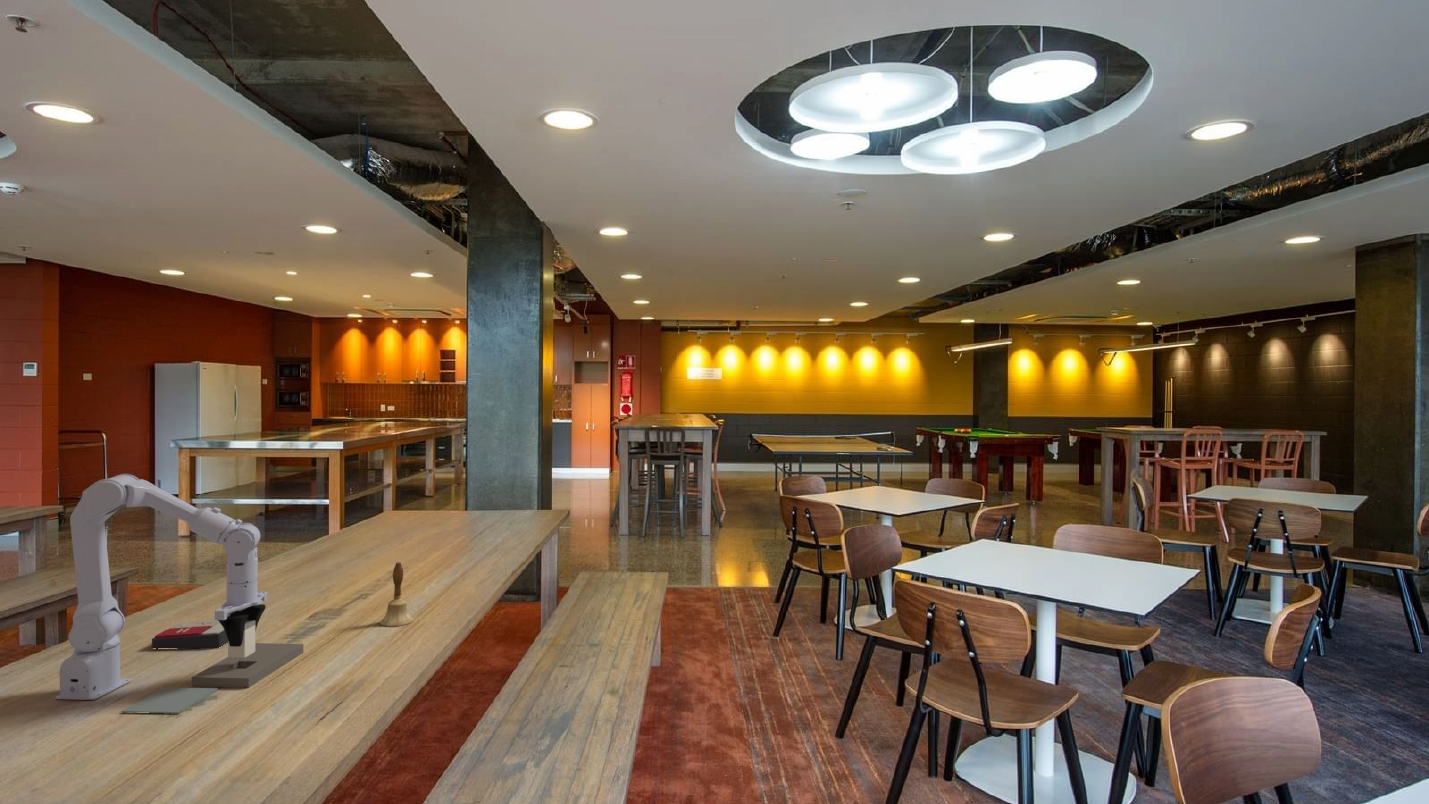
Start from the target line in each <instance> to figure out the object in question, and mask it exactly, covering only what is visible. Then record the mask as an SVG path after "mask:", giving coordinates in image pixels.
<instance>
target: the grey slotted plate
mask: <svg viewBox="0 0 1429 804" xmlns="http://www.w3.org/2000/svg"><path fill="white" fill-rule="evenodd" d="M303 653H304V643H267V642H266V643H264V642H263V643H261V642H260V643H259V642H258V643H257V642H255V652H254V653H252V654H250V655H249V656H247V657H245V658H231V657H228V656H227V657H225V658H222V660H220V661H218V662H217V663H214V664H212V665H211V666H209V667H207V668H206V669H204V670H202V671H200V672H198V673H196V674H195V675H192V676H191V687H192V686H197V687H196V688H236V687H246V688H247V689H248V688H250V686H251V687H253V686H254V685H256V684H257V683H258V682H259V680H260V681H261V679H262V678H263V679H264V677H265V678H266V677H268V676H269V675H271V674H272V673H274V672H276V671H277V670H279V669H280V668H282V667H283V666H285V665H286V664H288V663H289V662H290V661H292V660H294V659H296V658H298V657H299V656H300V655H301V654H303ZM276 669H277V670H276ZM263 679H262V680H263ZM246 688H245V689H246Z"/></svg>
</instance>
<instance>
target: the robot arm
mask: <svg viewBox="0 0 1429 804" xmlns="http://www.w3.org/2000/svg"><path fill="white" fill-rule="evenodd" d="M125 506H126V508H138V507H139V508H140V507H149V508H152V509H154V510H156V511H159V512H161V513H164V514H166V515H168V516H171V517H173V518H176V519H178V520H181V521H183V522H185V523H187V524H188V527H189V531H190V532H192V533H195V534H197V535H198V536H201V537H203V538H205V539H207V540H208V541H212V542H214V543H216V544H217V545H222V547H223V549H224V551H225V553H226V555H227V556H226V557H227V559H226V560H227V561H226V597H225V598H226V601H225V602H224V603H223V604H222V605H221V606H220V607H219V608H217V609H216V610H214V620H218V621H219V622H220V624H221V625H222V626H223V628H224V630H225V632H226V635H227V638H228V641H229V645H230V646H233V647H239V646H241V644H242V640H243V631H244V626H245V623H246V620H255V633H256V631H257V627H258V625H259V622H260V619H261V617H262V615H263V613H264V612H265V610H266V604H264V603H263V602H265V601H267V600H268V591H265V590H264V591H258V588H259V587H258V585H259V584H258V582H259V581H258V580H259V579H258V578H259V576H258V575H259V574H258V573H259V571H258V570H259V558H258V546H257V545H258V544H259V542H260V540H261V532H260V529H259V528H258V527H257V526H255V525H254V524H253V523H250V522H243V520H242V519H239V518H238V519H234V518H232V517H230V516H228V515H226V514H224V513H222V512H221V510H222V509H220V508H218V507H213V508H212V507H208V506H207V507H203V508H197V507H195V506H194V505H192V504H190V503H188V502H186V501H184V500H183V499H180V498H179V497H177V496H176V495H173V494H171V493H169V492H167V491H165V490H163V489H162V488H160V487H158V486H156V485H155V484H153V483H151V482H150V481H148V480H145V479H141V478H140V479H139V478H138V477H136V476H135V475H133V474H131V473H130V474H129V473H121V474H116V475H115V476H112V477H110V478H104V479H100V480H98V481H96V482H94V483H93V484H91V485H90V486H89V487H87V488H85V489H84V490H83V491H82V495H81V498H80V500H79V502H78V503H77V505H76V507H75V508H74V509H73V512H72V513H71V515H70V519H69V522H70V533H71V543H72V544H71V545H72V553H73V563H74V574H75V583H76V591H77V601H78V603H77V607H76V609H75V611H74V613H73V616H72V627H71V629H70V631H69V634H68V642H69V644H70V645H71V647H73V648H74V650H73V652H72V653H71V655H70V656H69V657H67V658H66V659H64V660H63V661H62V663H61V665H60V666H59V667H60V668H59V695H56V696H55V699H56V700H77V701H78V700H80V701H81V700H84V701H85V700H87V701H93V700H96V699H99V698H100V697H103V696H104V695H107V694H109V693H110V692H112V691H115V690H116V689H119V688H120V687H122V686H124V685H126V684H129V683H130V682H131V681H132V678H121V639H120V637H119V633H120V632H121V631H122V630H123V628H124V627H125V624H126V621H125V620H126V619H125V616H124V613H123V612H122V611H121V610H120V608H119V605H118V603H119V602H118V601H117V599H116V598H115V596H114V597H113V595H112V594H113V593H112V585H111V575H110V574H111V573H110V563H109V556H108V555H109V554H108V546H107V543H108V542H107V536H106V535H107V533H106V525H105V523H106V521H107V520H108V519H109V518H110V517H112V516H113V515H114V514H115V513H116V512H117V511H118V510H119V509H121V508H123V507H125Z"/></svg>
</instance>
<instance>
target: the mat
mask: <svg viewBox="0 0 1429 804" xmlns="http://www.w3.org/2000/svg"><path fill="white" fill-rule="evenodd" d="M218 688H219V687H174V686H173V687H170V686H169V687H167V686H166V687H165V686H164V687H163V688H160V689H159V690H157V691H155V692H153V693H151V694H150V695H148V696H146V697H144V698H143V699H141V700H139V701H137V702H136V703H133V704H132V705H129V706H128V707H127V708H124V709H123V710H121V711H120V713H121V712H149V713H164V714H163V715H179V714H178V713H179V712H181V711H183V712H184V711H186V710H188V709H190V708H191V707H193V706H194V705H196V704H198V703H199V702H201V701H202V700H204V699H206V698H207V697H209V696H211V695H212V694H214V693H216V692H217V691H218ZM197 702H198V703H197ZM195 703H196V704H195ZM192 705H193V706H192ZM190 706H191V707H190ZM187 708H188V709H187ZM169 713H171V714H169ZM181 713H182V712H181Z"/></svg>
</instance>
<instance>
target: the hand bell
mask: <svg viewBox="0 0 1429 804" xmlns="http://www.w3.org/2000/svg"><path fill="white" fill-rule="evenodd" d="M403 580H404V569H403V566H402V562H400V561H399V562H398V561H397V562H396V563H395V565H394V568H393V572H392V582H393V584H394V585H393V586H394V592H393V599H392V600H390V601H388V604H387V610H386V612H385V615H384V616H383V618H382V619H380V621H379V625H381V626H382V627H388V628H389V627H392V628H393V627H394V628H395V627H401V626H402V627H403V626H406V625H409V624H411V623H412V622H414V618H413V616H412V615H410V613H409V611H408V607H407V601H406V600H404V599H402V597H401V595H402V590H401V589H402V588H401V587H402V583H403Z"/></svg>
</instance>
